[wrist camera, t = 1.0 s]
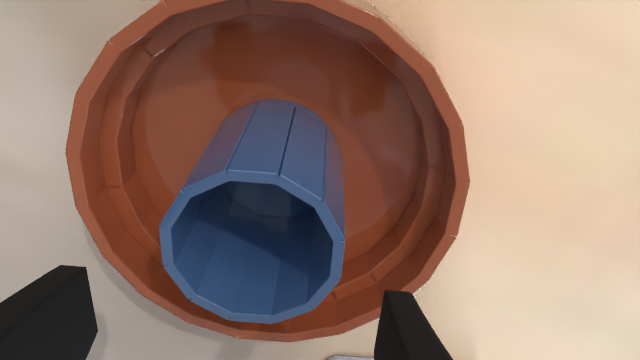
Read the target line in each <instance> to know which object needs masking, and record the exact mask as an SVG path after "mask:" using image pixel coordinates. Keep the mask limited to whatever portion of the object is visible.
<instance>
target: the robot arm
mask: <svg viewBox="0 0 640 360" xmlns="http://www.w3.org/2000/svg"><path fill="white" fill-rule="evenodd" d="M97 332H98V329H97V323H96V318H95V313H94V307H93V302H92V297H91V291H90V286H89V281H88V275H87V270H86V267H78V266H65V265H60V266H58V267H57V268H55V269H53V270H51V271H50V272H48V273H46V274H45V275H43V276H42V277H40V278H38V279H37V280H35V281H34V282H32V283H30V284H29V285H27V286H26V287H24V288H23V289H21V290H20V291H18V292H16V293H15V294H13V295H12V296H10V297H9V298H7V299H5V300H4V301H2V302H1V303H0V360H86V358H87V355H88V353H89V351H90V349H91V346H92V344H93V341H94V339H95V337H96V334H97ZM328 360H453V359H452V357H451V356H450V354H449V353H448V351H447V350H446V348H445V347H444V346H443V344H442V343H441V341H440V339H439V338H438V336H437V335H436V333H435V332H434V330H433V328H432V327H431V325H430V324H429V322H428V320H427V319H426V317H425V315H424V314H423V312H422V310H421V309H420V307H419V305H418V303H417V302H416V300H415V298H414V296H413V295H412V294H411V293H410V292H406V291H393V290H384V295H383V301H382V307H381V313H380V319H379V325H378V331H377V337H376V342H375V348H374V358H363V357H350V356H332V357H330V358H329V359H328Z"/></svg>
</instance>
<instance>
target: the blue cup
mask: <svg viewBox="0 0 640 360" xmlns="http://www.w3.org/2000/svg"><path fill="white" fill-rule="evenodd" d="M159 234H160V245H161V255H162V265H164V269H165V270H166V271H167V273H168V274H169V275H170V277H171V278H172V279H173V281H174V282H175V283H176V284H177V286H178V287H179V288H180V290H181V291H182V292H183V294H184V295H185V296H186V297H187V299H190V298H191V299H190V301H191V302H193V303H195V304H197V305H199V306H201V307H203V308H205V309H207V310H209V311H211V312H213V313H215V314H217V315H219V316H220V317H222V318H224V319H226V320H228V319H229V318H230V321H239V322H252V323H265V324H272V323H273V322H274V323H278V322H281V321H284V320H287V319H290V318H292V317H295V316H298V315H301V314H304V313H307V312H309V311H312V310H313V308H314V309H315V308H316V307H317V306H318V305H319V304H320V303H321V301H322V300H323V299H324V298H325V297H326V296H327V295H328V294H329V292H330V291H331V290H332V289H333V288H334V287H335V286H336V285H337V283H338V282H339V281H340V279H341V275H342V266H343V258H344V249H345V216H344V184H343V157H342V154H341V152H340V148H339V144H338V141H337V139H336V136H335V134H334V133H333V131H332V129H331V128H330V127H329V125H328V124H327V123H326V122H325V121H324V120H323V119H322V118H321V117H320V116H319V115H318V114H317V113H315V112H314V111H313V110H311V109H309V108H307V107H306V106H303V105H301V104H299V103H296V102H292V101H289V100H283V99H263V100H258V101H254V102H251V103H248V104H246V105H244V106H242V107H240V108H238V109H237V110H235V111H234V112H233V113H231V114H230V115H229V116H228V117H227V118H225V119H224V121H223V122H222V124H221V126H220V127H219V129H218V130H217V132H216V134H215V135H214V137H213V138H212V140H211V142H210V143H209V145H208V146H207V148H206V150H205V151H204V153H203V155H202V156H201V158H200V159H199V161H198V163H197V164H196V166H195V167H194V169H193V171H192V172H191V174H190V175H189V177H188V179H187V180H186V182H185V183H184V185H183V187H182V188H181V190H180V191H179V193H178V195H177V196H176V198H175V200H174V201H173V203H172V204H171V206H170V208H169V209H168V211H167V213H166V214H165V216H164V217H163V219H162V221H161V222H160V226H159Z"/></svg>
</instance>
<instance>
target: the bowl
mask: <svg viewBox="0 0 640 360" xmlns="http://www.w3.org/2000/svg"><path fill="white" fill-rule="evenodd" d="M263 99H283V100H289V101H292V102H296V103H299V104H301V105H303V106H306V107H307V108H309V109H311V110H313V111H314V112H315V113H317V114H318V115H319V116H320V117H321V118H322V119H323V120H324V121H325V122H326V123H327V124H328V125H329V127H330V128H331V129H332V131H333V133H334V134H335V136H336V139H337V141H338V144H339V148H340V152H341V154H342V157H343V184H344V216H345V249H344V258H343V266H342V275H341V279H340V281H339V282H338V283H337V285H336V286H335V287H334V288H333V289H332V290H331V291H330V292H329V294H328V295H327V296H326V297H325V298H324V299H323V300H322V301H321V303H320V304H319V305H318V306H317V307H316V308H315V309H314V308H313V310H312V311H309V312H307V313H304V314H301V315H298V316H295V317H292V318H290V319H287V320H284V321H281V322H278V323H274V322H273V323H272V324H265V323H252V322H239V321H230V318H229V319H228V320H226V319H224V318H222V317H220V316H219V315H217V314H215V313H213V312H211V311H209V310H207V309H205V308H203V307H201V306H199V305H197V304H195V303H193V302H191V301H190V299H191V298H190V299H187V297H186V296H185V295H184V294H183V292H182V291H181V290H180V288H179V287H178V286H177V284H176V283H175V282H174V281H173V279H172V278H171V277H170V275H169V274H168V273H167V271H166V270H165V269H164V265H162V255H161V245H160V234H159V226H160V222H161V221H162V219H163V217H164V216H165V214H166V213H167V211H168V209H169V208H170V206H171V204H172V203H173V201H174V200H175V198H176V196H177V195H178V193H179V191H180V190H181V188H182V187H183V185H184V183H185V182H186V180H187V179H188V177H189V175H190V174H191V172H192V171H193V169H194V167H195V166H196V164H197V163H198V161H199V159H200V158H201V156H202V155H203V153H204V151H205V150H206V148H207V146H208V145H209V143H210V142H211V140H212V138H213V137H214V135H215V134H216V132H217V130H218V129H219V127H220V126H221V124H222V122H223V121H224V119H225V118H227V117H228V116H229V115H230V114H231V113H233V112H234V111H235V110H237V109H238V108H240V107H242V106H244V105H246V104H248V103H251V102H254V101H258V100H263ZM66 158H67V164H68V169H69V174H70V180H71V185H72V190H73V196H74V201H75V206H76V209H77V210H78V212H79V214H80V216H81V218H82V220H83V221H84V223H85V225H86V227H87V229H88V231H89V232H90V234H91V236H92V238H93V240H94V241H95V243H96V245H97V247H98V249H99V251H100V252H101V254H102V255H103V257H104V258H105V259H106V260H107V261H108V262H109V263H110V264H111V265H112V266H113V267H114V268H115V269H116V270H117V271H118V272H119V273H120V274H121V275H122V276H123V277H124V278H125V279H126V280H127V281H128V282H129V283H130V284H131V285H132V286H133V287H134V288H135V289H136V290H137V291H138V292H139V293H140V294H141V295H142V296H144V297H145V298H147V299H149V300H150V301H152V302H154V303H155V304H157V305H159V306H160V307H162V308H164V309H165V310H167V311H169V312H170V313H172V314H174V315H175V316H177V317H179V318H180V319H182V320H184V321H185V322H188V323H190V324H194V325H197V326H200V327H203V328H206V329H209V330H213V331H216V332H219V333H222V334H225V335H228V336H232V337H235V338H239V339H252V340H265V341H278V342H295V341H302V340H308V339H314V338H320V337H326V336H333V335H339V334H343V333H345V332H347V331H349V330H352V329H354V328H356V327H359V326H361V325H363V324H366V323H368V322H370V321H372V320H375V319H377V318H379V317H380V313H381V307H382V301H383V295H384V290H393V291H406V292H410V293H411V294H413V293H414V292H415V291H416V290H418V289H419V288H420V287H421V286H423V285H424V284H425V283H426V282H427V281H428V280H429V279H430V277H431V276H432V274H433V273H434V271H435V270H436V268H437V267H438V265H439V263H440V262H441V260H442V259H443V257H444V256H445V254H446V253H447V251H448V250H449V248H450V247H451V245H452V243H453V242H454V240H455V239H456V236H457V234H458V230H459V226H460V222H461V218H462V214H463V210H464V206H465V201H466V197H467V193H468V189H469V185H470V178H469V169H468V161H467V152H466V144H465V136H464V127H463V124H462V120H461V119H460V117H459V115H458V113H457V111H456V109H455V107H454V105H453V103H452V101H451V99H450V97H449V95H448V93H447V91H446V89H445V87H444V86H443V84H442V82H441V80H440V78H439V76H438V74H437V72H436V70H435V68H434V66H433V65H432V64H431V63H430V61H429V60H428V59H427V57H426V56H425V55H424V53H423V52H422V51H421V50H420V48H419V47H418V46H417V45H416V44H415V43H414V42H413V41H412V40H411V39H410V38H409V37H408V36H407V35H406V34H404V33H403V32H402V31H401V30H400V29H399V28H398V27H397V26H396V25H395V24H394V23H393V22H392V21H391V20H389V19H388V18H387V17H386V16H385V15H384V14H383V13H382V12H381V11H380V10H379V9H378V8H377V7H376V6H373V5H372V4H370V3H368V2H366V1H364V0H162V1H161V2H159V3H158V4H157V5H155V6H154V7H152V8H151V9H150V10H148V11H147V12H146V13H144V14H143V15H142V16H140V17H139V18H137V19H136V20H135V21H133V22H132V23H131V24H129V25H128V26H127V27H125V28H124V29H122V30H121V31H120V32H118V33H117V34H116V35H114V36H113V37H112V38H110V40H109V41H107V43H106V45H105V46H104V48H103V49H102V51H101V53H100V54H99V56H98V58H97V59H96V61H95V62H94V64H93V66H92V67H91V69H90V71H89V72H88V74H87V75H86V77H85V79H84V80H83V82H82V83H81V85H80V87H79V88H78V90H77V92H76V94H75V99H74V105H73V110H72V116H71V122H70V128H69V133H68V139H67V145H66Z"/></svg>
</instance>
